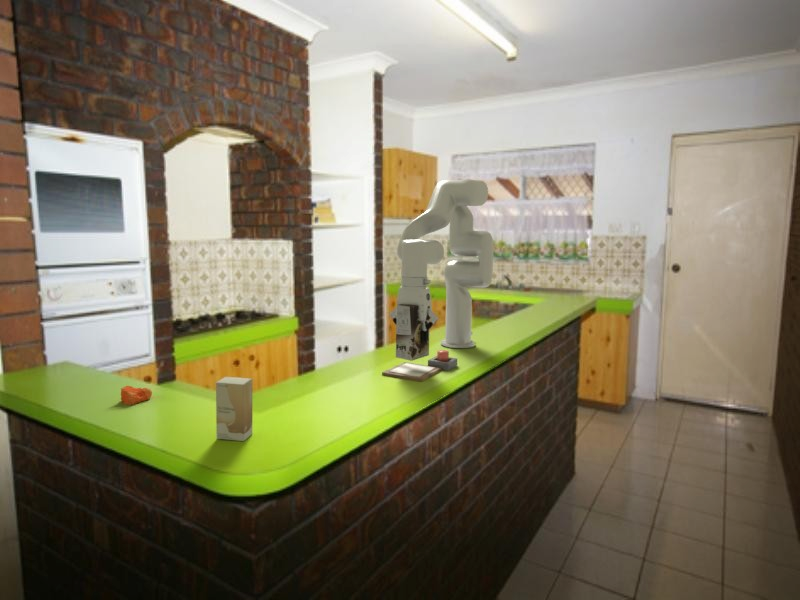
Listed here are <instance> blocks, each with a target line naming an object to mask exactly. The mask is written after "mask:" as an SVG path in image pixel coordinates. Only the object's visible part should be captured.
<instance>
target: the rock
mask: <svg viewBox="0 0 800 600" xmlns="http://www.w3.org/2000/svg"><path fill="white" fill-rule="evenodd" d="M152 395H153V391H152V389H151V388H148V387H143V388H142V387H138V388H137V387H133V386H131V385H126V386H123V387H121V388H120V400H121V402H122V403H123V404H125V405H127V406H129V405H130V406H131V405H133V406H134V405H135V404H138V403H141V402H143V401H144V402H145V401H149V399H151V398H152Z"/></svg>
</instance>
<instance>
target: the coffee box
mask: <svg viewBox="0 0 800 600" xmlns="http://www.w3.org/2000/svg"><path fill="white" fill-rule="evenodd" d="M396 305H397V304H396ZM427 319H428V317H427ZM430 321H431V319H430V320H428V323H429V322H430ZM395 327H396V328H395V332H396V333H395V334H396V335H395V358H397V359H401V360H406V361H410V362H411V361H415V360H420V359H422V358H425V357H428V356H430V335H429V336H428V341H427V343H425V344H421V331H422V330H423V329H422V326H421V324H420V321H419V306H417V305H403V304H399V305H397V319H396V324H395Z"/></svg>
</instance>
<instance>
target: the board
mask: <svg viewBox="0 0 800 600" xmlns="http://www.w3.org/2000/svg"><path fill="white" fill-rule="evenodd" d="M441 371H443V370H442V368H440V367H433V366H428V364H427V365H426V364H425V365H424V364H421V363H420V364H419V363H412V362H407V361H406V362H405V361H404V362H402V363H399V364H397V365H395V366H392V367H391V368H389V369H386V370H384V371H383V372H381V375H382V376H384V377H386V376H387V377H392V378H398V379H403V380H409V381H415V382H423V381H425V380H427V379H428V378H430V377H432V376H434V375H436V374H438V373H440V372H441Z"/></svg>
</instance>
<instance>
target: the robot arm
mask: <svg viewBox="0 0 800 600" xmlns="http://www.w3.org/2000/svg"><path fill="white" fill-rule="evenodd" d="M488 198H489V188H488V185H487V183H486V182H485V181H484V180H476V179H475V180H474V179H445V180H440V181H439V182H438V183H437V184H436V185H435V187H434V188H433V192H432V194H431V196H430V199H429V202H428V205H427V207H426V210H425V211H424V213H422V214H420V215H418V216H417V217H415V218H414V219H413V220H412V221H411V222H409V223H408V224H407V226H406V227H405V228H404V230H403V231H402V234H401V236H400V239H399V241H398V245H397V249H396V251H397V252H396V253H397V255H396V256H397V258H398V259H399V261H400V262H401V277H400V278H401V279H400V281H401V283H400V286H399V288H398V293H397V297H396V306H395V308H393V310H392V311H390V312H389V315H388V316H389V317H390V318H391V319H392V322H393V323H394V324H395V325H396V319H397V305H399V304H403V305H417V306H419V321H420V324H421V326H422V329H423V330H422V331H421V344H425V343H427V341H428V336H429V337H430V329H432V327H434V325H435V324H436V323H437V322H438V320H439V317H438V316H437V315H436V314H435V312H433V305H432V296H431V290H430V287H428V285H431V284H432V282H431V279H428V265H437V264H439V263H440V262H441V261H442V260H443V259H444V256H445V248H444V246H443V243H441V242H440V241H439V240H436V239H425V238H424V239H421V238H422V237H424V236H426V235H428V234H432V233H435V232H438V231H440V230H442V229H444V228H446V227H448V226H449V239H448V241H449V242H448V245H449V247H448V248H449V252H450V254H451V255H453V256H455V257H461V258H462V257H465V258H477V259H478V260H462V259H461V260H460V259H459V260H458V259H457V260H451V261H449V262H447V263H446V264H445V266H444V271H443V272H444V273H443V275H444V282H445V289H446V290H445V294H446V295H445V297H446V299H445V333H444V334H445V335H444V336H445V337H444V339H442V340H441V341H440V345H441V346H443V347H445V348H451V349H468V348H469V349H470V348H473V347H474V346H475V345H476V342H475V341H474V340H472V336H473V334H474V333H473V331H472V310H473V309H472V308H473V307H472V306H473V297H472V294H471V293H470V291H469V290H468V287H469V288H483V289H484V288H487V287H490V286H491V284H492V280H493V270H494V269H493V268H494V264H493V263H494V239H493V236H492V234H491V233H490V232H488V231H486V230H474V216H473V213H472V211H471V209H470V208H469V207H470V206H471V207H479V206H483V205H485V203H486V202H487V200H488ZM427 317H428V319H427ZM428 320H430V322H429V323H428Z"/></svg>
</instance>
